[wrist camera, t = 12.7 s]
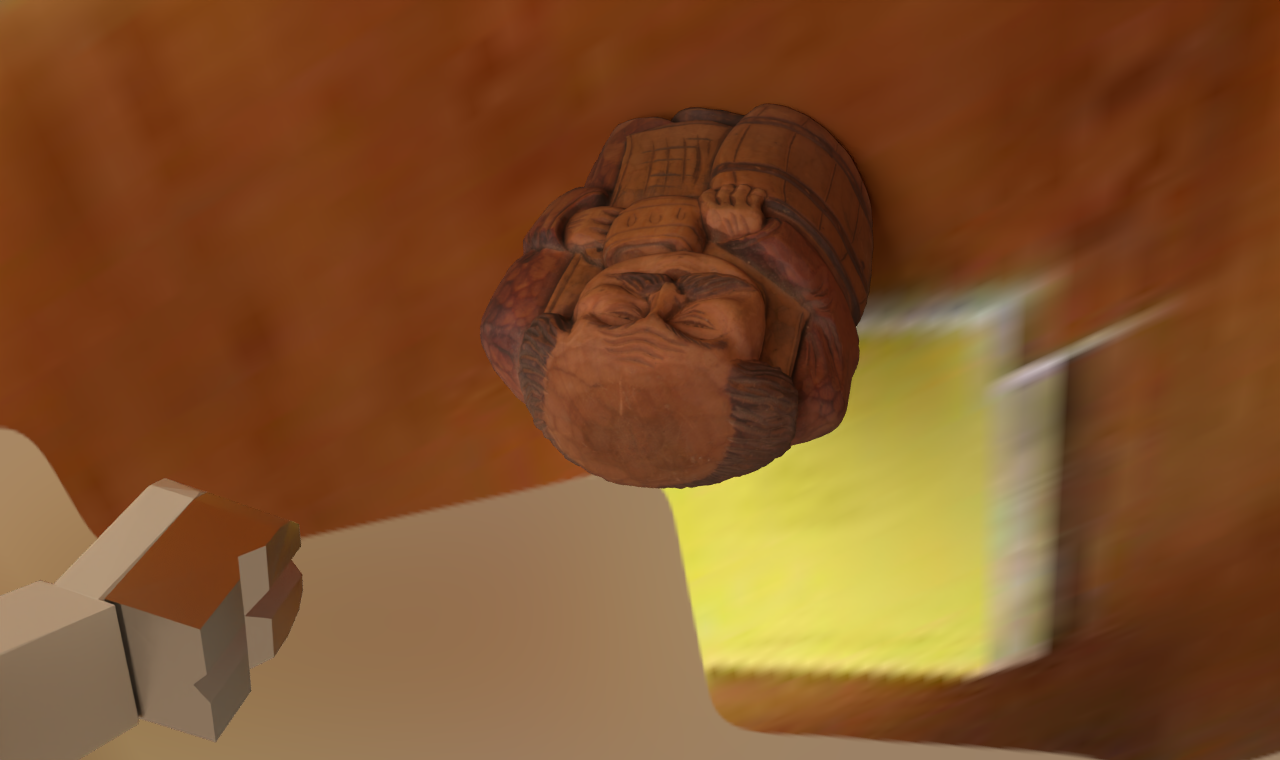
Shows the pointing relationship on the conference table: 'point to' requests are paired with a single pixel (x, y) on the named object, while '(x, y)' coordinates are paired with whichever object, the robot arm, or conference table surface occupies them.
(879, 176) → the conference table surface
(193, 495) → the robot arm
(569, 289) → the wooden figurine
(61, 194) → the conference table surface
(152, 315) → the conference table surface
